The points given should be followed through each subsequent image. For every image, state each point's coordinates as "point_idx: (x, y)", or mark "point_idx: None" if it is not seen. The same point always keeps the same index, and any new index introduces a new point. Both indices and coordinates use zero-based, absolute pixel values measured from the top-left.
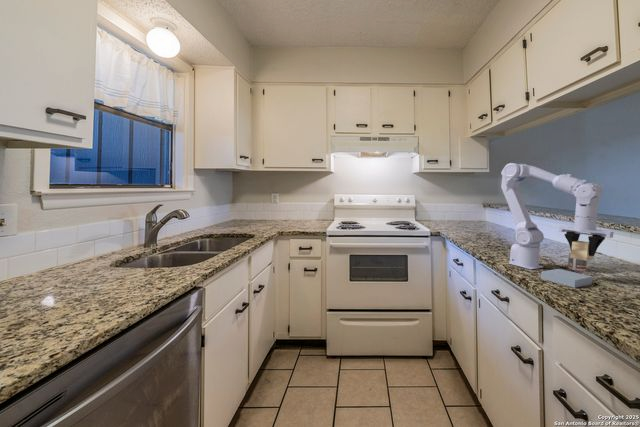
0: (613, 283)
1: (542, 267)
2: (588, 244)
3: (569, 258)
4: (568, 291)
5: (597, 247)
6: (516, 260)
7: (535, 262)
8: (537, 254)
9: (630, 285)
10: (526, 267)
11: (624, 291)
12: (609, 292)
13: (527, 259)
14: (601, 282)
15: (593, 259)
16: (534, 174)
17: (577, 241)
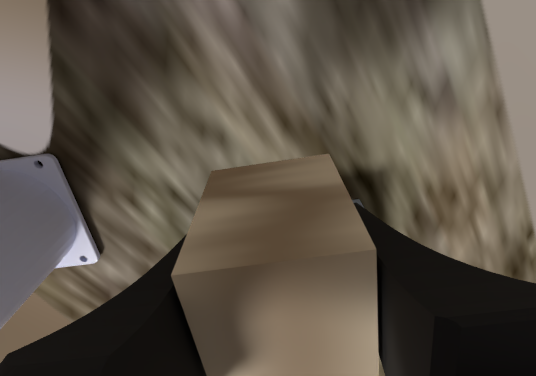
0: (400, 73)
1: (62, 171)
2: (376, 369)
3: None
4: (379, 360)
5: (406, 244)
6: None
7: (57, 244)
8: (16, 272)
9: (463, 8)
10: (74, 265)
11: (483, 172)
12: (454, 247)
13: (35, 289)
14: (363, 123)
15: (329, 156)
16: None
17: (215, 343)
